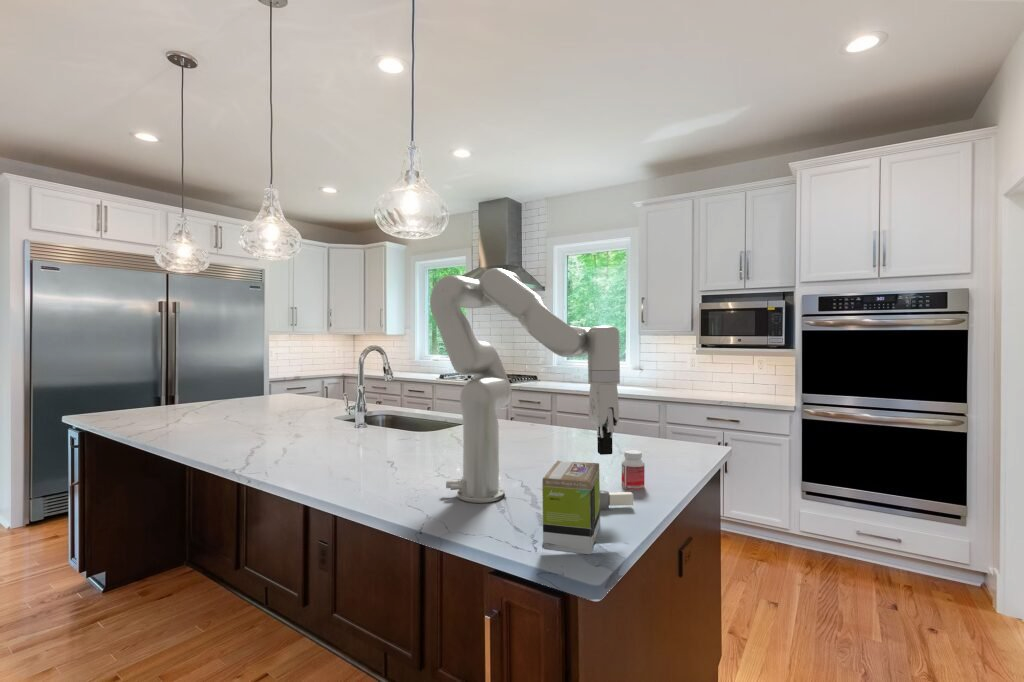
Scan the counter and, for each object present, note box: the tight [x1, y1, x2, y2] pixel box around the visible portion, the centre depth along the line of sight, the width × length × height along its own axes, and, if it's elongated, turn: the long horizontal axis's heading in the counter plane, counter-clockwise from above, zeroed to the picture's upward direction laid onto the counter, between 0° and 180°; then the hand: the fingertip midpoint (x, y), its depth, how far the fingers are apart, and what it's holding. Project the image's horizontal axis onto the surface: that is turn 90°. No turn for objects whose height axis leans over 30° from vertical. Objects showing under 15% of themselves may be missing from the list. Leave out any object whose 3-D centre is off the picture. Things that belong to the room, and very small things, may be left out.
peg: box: [600, 489, 634, 511], centre depth 121 cm, size 9×3×4 cm, turn 96°
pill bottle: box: [621, 449, 646, 491], centre depth 139 cm, size 6×6×11 cm
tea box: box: [541, 460, 601, 555], centre depth 106 cm, size 15×10×15 cm, turn 163°
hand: (605, 453), depth 121 cm, fingers closed
